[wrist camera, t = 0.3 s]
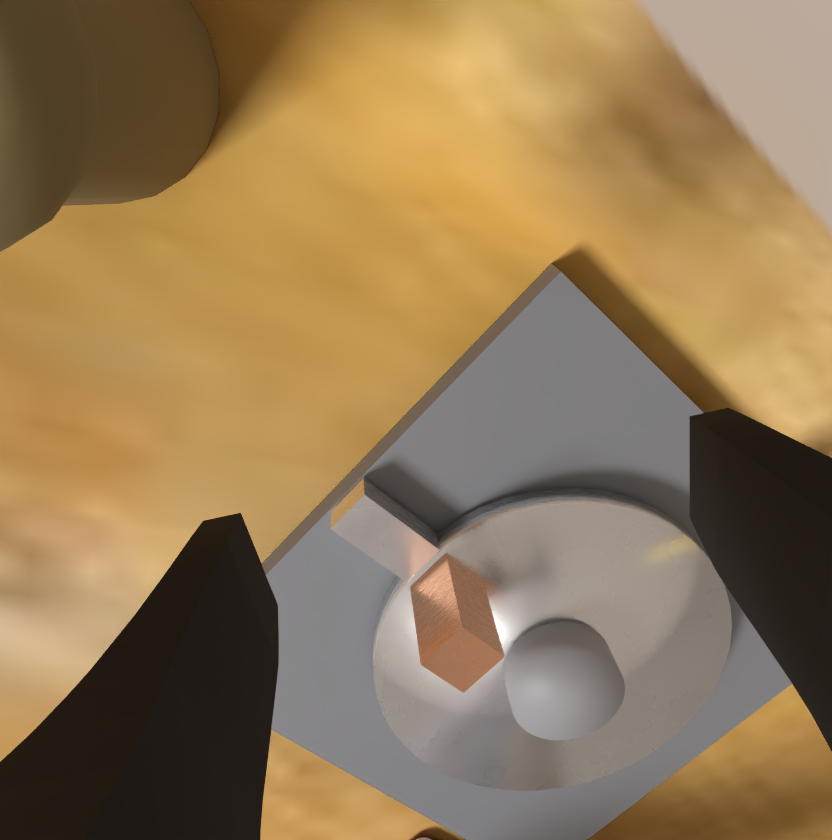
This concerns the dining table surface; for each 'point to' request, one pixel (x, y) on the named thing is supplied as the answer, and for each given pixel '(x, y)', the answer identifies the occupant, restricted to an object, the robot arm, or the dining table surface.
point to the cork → (99, 104)
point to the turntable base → (467, 491)
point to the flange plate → (528, 609)
